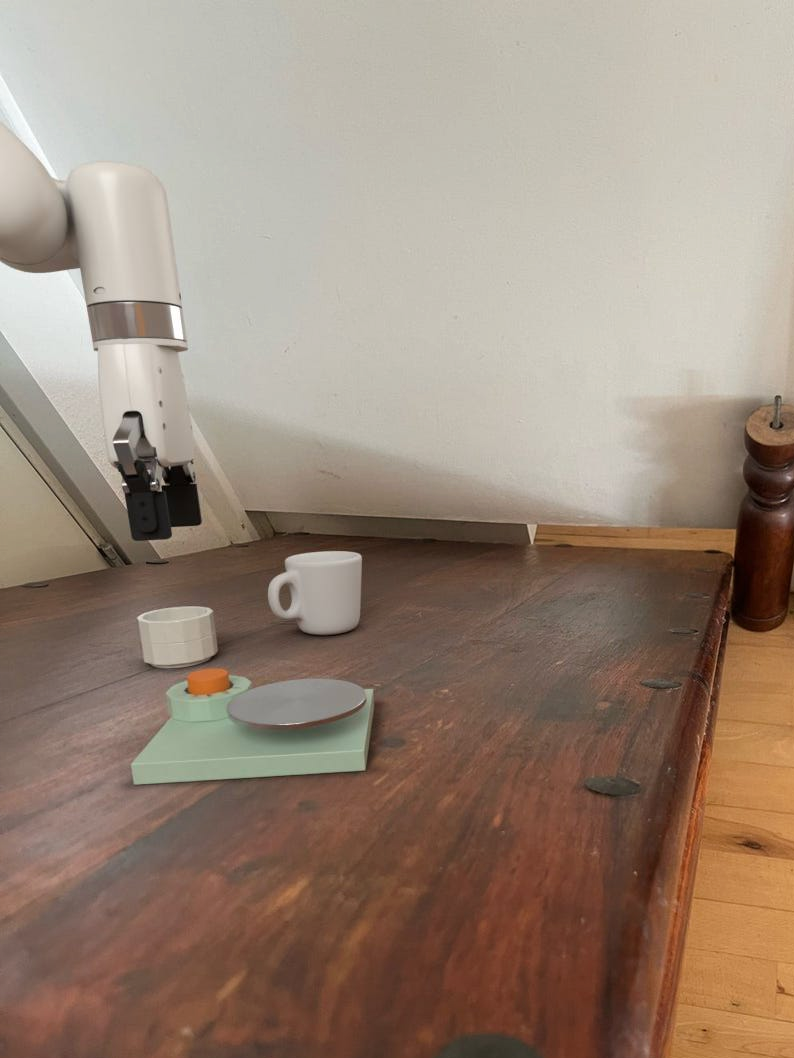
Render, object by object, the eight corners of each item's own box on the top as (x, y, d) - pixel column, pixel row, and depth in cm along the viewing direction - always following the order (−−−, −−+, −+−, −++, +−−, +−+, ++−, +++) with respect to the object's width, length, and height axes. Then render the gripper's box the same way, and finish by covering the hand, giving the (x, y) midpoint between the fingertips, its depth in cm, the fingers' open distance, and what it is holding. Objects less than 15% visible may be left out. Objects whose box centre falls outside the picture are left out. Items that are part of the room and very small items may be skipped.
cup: (297, 650, 76) (289, 569, 73) (253, 637, 81) (245, 562, 79) (381, 628, 83) (377, 554, 81) (336, 618, 88) (331, 548, 86)
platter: (211, 734, 46) (211, 728, 46) (243, 687, 55) (242, 682, 55) (362, 725, 47) (361, 719, 47) (369, 680, 56) (369, 675, 56)
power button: (184, 699, 54) (181, 681, 54) (195, 686, 57) (192, 669, 56) (225, 697, 54) (222, 678, 54) (233, 684, 57) (231, 667, 57)
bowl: (133, 672, 70) (126, 624, 69) (156, 652, 76) (150, 607, 75) (207, 668, 70) (201, 620, 69) (225, 648, 77) (219, 604, 76)
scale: (127, 785, 47) (120, 739, 46) (185, 714, 59) (179, 677, 58) (365, 771, 48) (362, 725, 47) (374, 704, 60) (372, 667, 59)
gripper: (129, 345, 74) (157, 524, 78) (47, 319, 57) (89, 548, 62) (209, 341, 74) (232, 519, 79) (151, 316, 58) (185, 543, 62)
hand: (169, 532), depth 70 cm, fingers open, 9 cm apart
